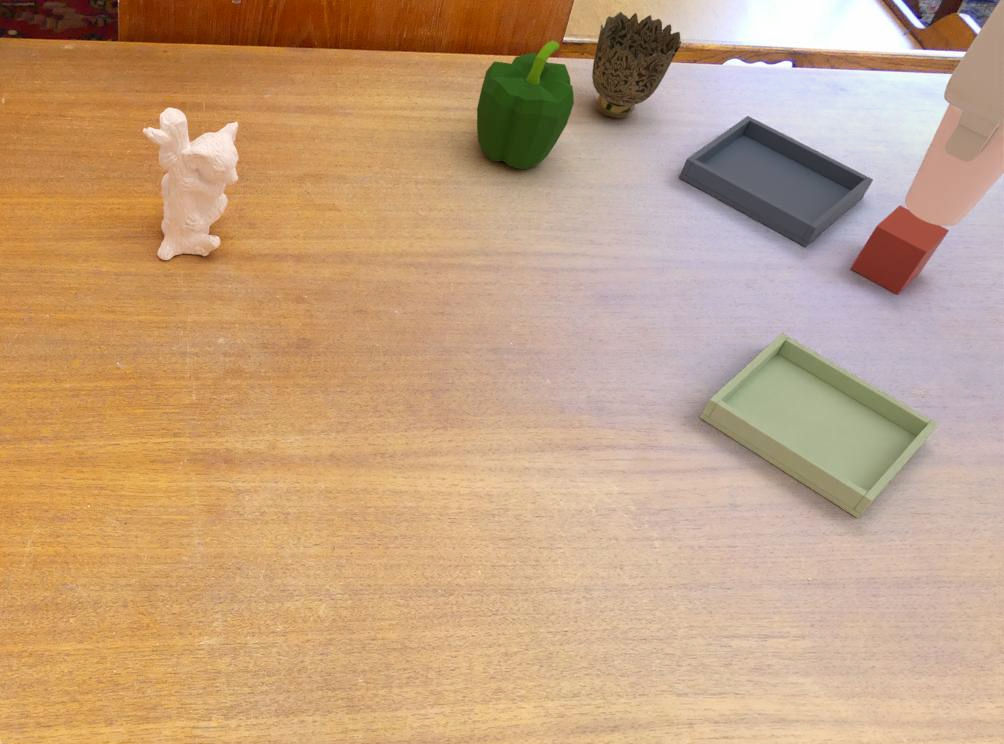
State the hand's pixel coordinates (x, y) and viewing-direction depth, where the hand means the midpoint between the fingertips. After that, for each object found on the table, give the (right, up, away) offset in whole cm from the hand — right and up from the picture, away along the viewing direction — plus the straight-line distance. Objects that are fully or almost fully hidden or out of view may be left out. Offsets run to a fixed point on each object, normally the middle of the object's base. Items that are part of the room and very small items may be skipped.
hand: (986, 130), depth 68 cm
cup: (-10, +18, +42) cm, 46 cm away
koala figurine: (-50, 0, +25) cm, 56 cm away
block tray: (+3, +8, +35) cm, 37 cm away
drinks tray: (-2, -16, +17) cm, 23 cm away
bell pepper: (-21, +12, +36) cm, 43 cm away
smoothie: (-1, -3, +5) cm, 6 cm away
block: (+10, -1, +29) cm, 31 cm away
